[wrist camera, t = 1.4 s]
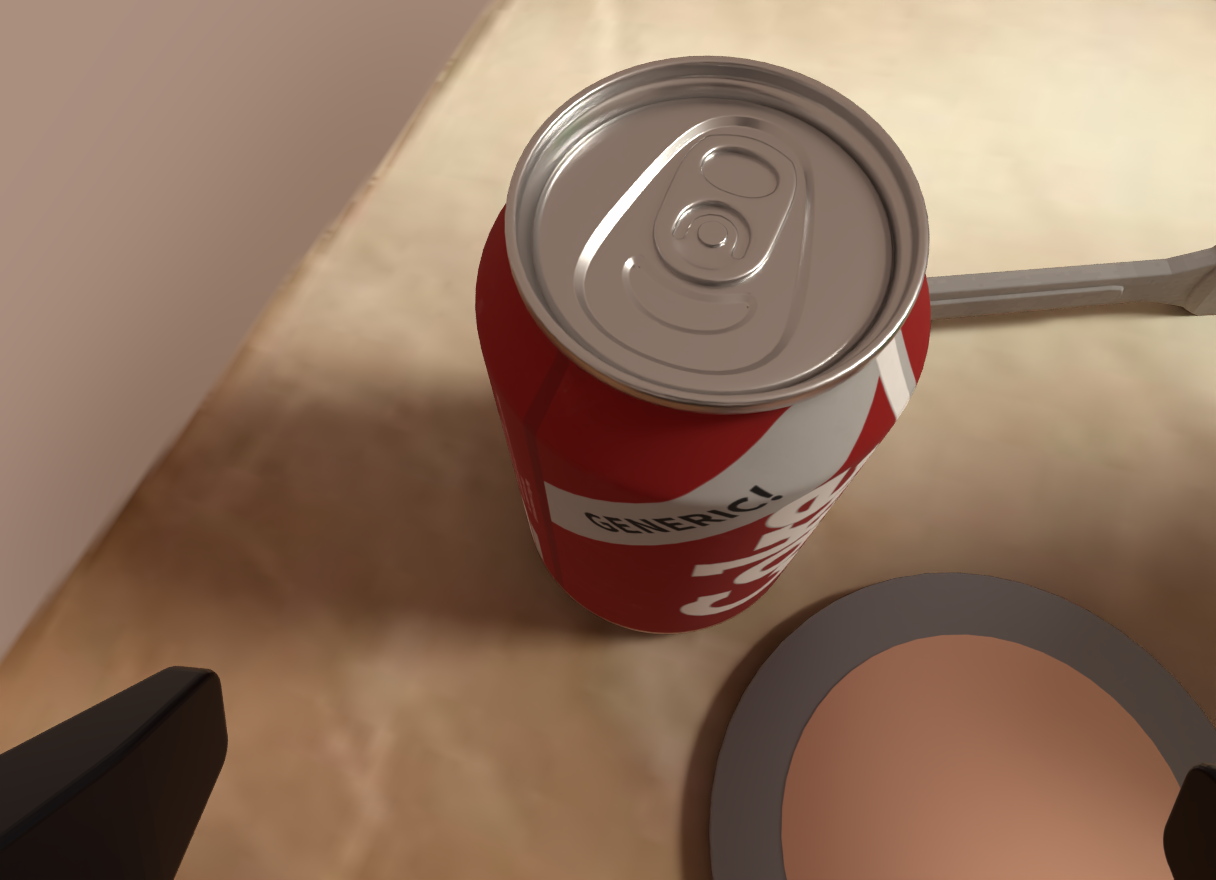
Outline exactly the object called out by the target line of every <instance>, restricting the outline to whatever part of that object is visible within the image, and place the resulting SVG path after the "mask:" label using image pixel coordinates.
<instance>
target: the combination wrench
mask: <svg viewBox="0 0 1216 880" xmlns="http://www.w3.org/2000/svg"><path fill="white" fill-rule="evenodd" d="M927 283H928V287H929V296H930V306H931V320H938V319H949V318H961V317H972V316H983V315H995V314H1006V313H1017V312H1028V311H1040V310H1051V309H1062V308H1073V307H1085V306H1096V305H1107V304H1118V303H1130V302H1141V301H1147V302H1156V303H1164V304H1170V305H1176V306H1182V307H1184V308H1185V309H1186V310H1188V311H1189V312H1190V313H1193V314H1195V315H1198V316H1204V315H1216V245H1215V246H1214V247H1212V248H1209V249H1205V250H1201V251H1197V252H1193V253H1189V254H1185V255H1180V256H1176V257H1172V258H1168V259H1158V260H1145V261H1133V262H1120V263H1107V264H1094V265H1082V266H1069V267H1056V268H1043V269H1030V270H1018V271H1005V272H992V273H979V274H966V275H954V276H941V277H928V278H927Z"/></svg>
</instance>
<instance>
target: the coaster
mask: <svg viewBox="0 0 1216 880" xmlns="http://www.w3.org/2000/svg"><path fill="white" fill-rule="evenodd" d="M1200 763H1212V764H1216V730H1215V728H1214V727H1213V725H1212V724H1211V722H1210V721H1209V719H1208V718H1207V717H1206V715H1205V714H1204V712H1203V711H1202V709H1201V708H1200V707H1199V706H1198V705H1197V704H1196V702H1195V701H1194V700H1193V699H1192V698H1191V696H1190V695H1189V694H1188V693H1187V692H1186V690H1185V689H1184V688H1183V687H1182V686H1181V685H1180V683H1179V682H1178V681H1177V680H1176V679H1175V678H1174V677H1173V676H1172V675H1171V674H1170V673H1169V672H1168V671H1167V670H1166V669H1165V668H1164V667H1163V666H1162V665H1161V664H1160V663H1158V662H1157V661H1156V660H1155V659H1154V658H1153V657H1152V656H1151V655H1150V654H1149V653H1148V652H1147V651H1145V650H1144V649H1143V648H1142V647H1140V646H1139V645H1138V644H1136V643H1135V642H1134V641H1133V640H1131V639H1130V638H1129V637H1128V636H1126V635H1125V634H1124V633H1122V632H1121V631H1120V630H1118V629H1117V628H1115V627H1114V626H1112V625H1110V624H1109V623H1107V622H1106V621H1104V620H1102V619H1101V618H1099V617H1098V616H1096V615H1094V614H1093V613H1091V612H1090V611H1088V610H1086V609H1084V608H1082V607H1080V606H1078V605H1076V604H1074V603H1072V602H1070V601H1067V600H1065V599H1063V598H1061V597H1059V596H1057V595H1055V594H1052V593H1049V592H1046V591H1043V590H1041V589H1038V588H1035V587H1032V586H1029V585H1026V584H1024V583H1019V582H1015V581H1010V580H1006V579H1002V578H997V577H993V576H986V575H976V574H966V573H925V574H919V575H913V576H907V577H900V578H894V579H891V580H887V581H884V582H881V583H878V584H874V585H871V586H868V587H864V588H862V589H860V590H858V591H856V592H853V593H851V594H849V595H847V596H845V597H843V598H841V599H838V600H836V601H835V602H833V603H831V604H830V605H828V606H827V607H825V608H824V609H822V610H821V611H819V612H818V613H816V614H815V615H813V616H811V617H810V618H809V619H807V620H806V621H805V622H804V623H803V624H802V625H801V626H799V627H798V628H797V629H796V630H795V631H794V632H793V633H792V634H790V635H789V636H788V637H787V638H786V639H785V640H784V641H783V642H781V643H780V645H779V646H778V647H777V648H776V649H775V650H774V652H773V653H772V654H771V655H770V656H769V657H768V659H767V660H766V661H765V662H764V663H763V664H762V666H761V667H760V668H759V669H758V671H757V673H756V674H755V676H754V677H753V679H752V680H751V682H750V683H749V685H748V687H747V688H746V690H745V691H744V693H743V694H742V696H741V698H740V701H739V703H738V705H737V707H736V709H735V711H734V713H733V716H732V718H731V720H730V722H729V724H728V727H727V730H726V733H725V736H724V739H723V743H722V746H721V749H720V752H719V755H718V759H717V763H716V769H715V775H714V780H713V786H712V792H711V801H710V820H709V844H710V859H711V873H712V879H713V880H1174V879H1173V876H1172V873H1171V871H1170V868H1169V866H1168V863H1167V860H1166V857H1165V853H1164V848H1163V834H1164V828H1165V825H1166V822H1167V820H1168V818H1169V815H1170V813H1171V810H1172V808H1173V805H1174V803H1175V801H1176V798H1177V796H1178V793H1179V791H1180V788H1181V786H1182V784H1183V781H1184V779H1185V776H1186V774H1187V773H1188V771H1189V770H1190V769H1191V768H1192V767H1193V766H1195V765H1196V764H1200Z"/></svg>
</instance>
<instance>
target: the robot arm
mask: <svg viewBox="0 0 1216 880" xmlns="http://www.w3.org/2000/svg"><path fill="white" fill-rule="evenodd" d="M227 747H228V735H227V727H226V719H225V711H224V704H223V696H222V688H221V683H220V679H219V677H218V675H217V674H216V673H215V672H214V671H212V670H210V669H204V668H194V667H183V666H172V667H168V668H166V669H164V670H162V671H160V672H158V673H156V674H154V675H152V676H150V677H148V678H147V679H145V680H143V681H141V682H139V683H137V684H135V685H133V686H131V687H129V688H127V689H125V690H123V691H122V692H120V693H118V694H116V695H114V696H112V697H110V698H108V699H106V700H104V701H102V702H100V703H98V704H97V705H95V706H93V707H91V708H89V709H87V710H85V711H83V712H81V713H79V714H77V715H75V716H74V717H72V718H70V719H68V720H66V721H64V722H62V723H60V724H58V725H56V726H54V727H52V728H50V729H49V730H47V731H45V732H43V733H41V734H39V735H37V736H35V737H33V738H31V739H29V740H27V741H26V742H24V743H22V744H20V745H18V746H16V747H14V748H12V749H10V750H8V751H6V752H4V753H2V754H1V755H0V880H174V878H175V875H176V873H177V871H178V868H179V866H180V864H181V862H182V859H183V857H184V855H185V852H186V850H187V848H188V845H189V843H190V841H191V838H192V836H193V834H194V831H195V829H196V827H197V825H198V822H199V820H200V818H201V815H202V813H203V811H204V808H205V806H206V804H207V801H208V799H209V797H210V794H211V792H212V790H213V788H214V785H215V783H216V781H217V778H218V776H219V774H220V771H221V769H222V767H223V764H224V761H225V757H226V753H227ZM1163 848H1164V853H1165V857H1166V860H1167V863H1168V866H1169V868H1170V871H1171V873H1172V876H1173V879H1174V880H1216V764H1212V763H1200V764H1196V765H1195V766H1193V767H1192V768H1191V769H1190V770H1189V771H1188V773H1187V774H1186V776H1185V779H1184V781H1183V784H1182V786H1181V788H1180V791H1179V793H1178V796H1177V798H1176V801H1175V803H1174V805H1173V808H1172V810H1171V813H1170V815H1169V818H1168V820H1167V822H1166V825H1165V828H1164V834H1163Z"/></svg>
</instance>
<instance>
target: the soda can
mask: <svg viewBox="0 0 1216 880" xmlns="http://www.w3.org/2000/svg"><path fill="white" fill-rule="evenodd" d="M928 255H929V224H928V215H927V211H926V206H925V202H924V198H923V195H922V192H921V189H920V186H919V183H918V181H917V179H916V177H915V175H914V173H913V170H912V168H911V166H910V165H909V163H908V161H907V160H906V158H905V156H904V155H903V153H902V151H901V150H900V149H899V147H898V146H897V145H896V143H895V142H894V141H893V139H892V138H891V137H890V136H889V135H888V134H887V132H886V131H885V130H884V129H883V128H882V127H881V126H880V125H879V124H878V123H877V122H876V121H875V120H874V119H873V118H872V117H871V116H870V115H868V114H867V113H866V112H865V111H864V110H863V109H861V108H860V107H859V106H857V105H856V104H855V103H853V102H852V101H851V100H849V99H848V98H846V97H845V96H843V95H842V94H840V93H839V92H837V91H835V90H834V89H832V88H830V87H828V86H826V85H824V84H822V83H821V82H819V81H817V80H814V79H812V78H810V77H807V76H805V75H803V74H801V73H798V72H795V71H792V70H789V69H786V68H784V67H780V66H776V65H773V64H769V63H765V62H760V61H755V60H750V59H743V58H735V57H725V56H688V57H678V58H670V59H664V60H659V61H653V62H649V63H645V64H641V65H638V66H634V67H631V68H628V69H625V70H623V71H620V72H617V73H615V74H612V75H610V76H608V77H606V78H603V79H601V80H599V81H598V82H596V83H594V84H592V85H590V86H588V87H587V88H585V89H583V90H582V91H580V92H579V93H577V94H576V95H575V96H573V97H572V98H570V99H569V100H568V101H566V102H565V103H564V104H563V105H562V106H560V107H559V108H558V109H557V110H556V111H555V112H554V113H553V114H552V115H551V116H550V117H549V118H548V119H547V120H546V121H545V122H544V123H543V124H542V125H541V127H540V128H539V129H538V130H537V132H536V133H535V134H534V135H533V137H532V138H531V140H530V141H529V143H528V145H527V146H526V148H525V149H524V151H523V153H522V155H521V157H520V159H519V161H518V163H517V165H516V168H515V171H514V173H513V176H512V179H511V183H510V187H509V191H508V195H507V202H506V204H505V206H504V207H503V209H502V210H501V212H500V213H499V215H498V217H497V219H496V221H495V223H494V225H493V227H492V229H491V231H490V233H489V236H488V238H487V241H486V244H485V246H484V249H483V253H482V257H481V261H480V265H479V269H478V276H477V283H476V301H475V310H476V321H477V330H478V335H479V340H480V344H481V349H482V353H483V357H484V361H485V364H486V368H487V372H488V375H489V379H490V383H491V386H492V390H493V394H494V397H495V401H496V405H497V408H498V412H499V416H500V419H501V423H502V427H503V430H504V434H505V438H506V441H507V445H508V449H509V452H510V456H511V460H512V463H513V467H514V471H515V474H516V478H517V482H518V485H519V489H520V493H521V497H522V500H523V504H524V508H525V511H526V515H527V519H528V522H529V526H530V530H531V533H532V536H533V539H534V543H535V546H536V548H537V550H538V553H539V555H540V557H541V559H542V561H543V563H544V564H545V566H546V568H547V570H548V571H549V573H550V574H551V575H552V577H553V578H554V580H555V581H556V582H557V583H558V584H559V586H560V587H561V588H562V589H563V590H564V591H565V592H566V593H567V594H568V595H569V596H570V597H571V598H572V599H573V600H574V601H576V602H577V603H578V604H580V605H581V606H582V607H584V608H585V609H586V610H588V611H590V612H591V613H593V614H594V615H596V616H598V617H600V618H602V619H604V620H606V621H608V622H610V623H613V624H615V625H618V626H621V627H624V628H627V629H631V630H635V631H640V632H646V633H654V634H681V633H688V632H694V631H698V630H702V629H706V628H710V627H712V626H715V625H718V624H721V623H723V622H725V621H727V620H729V619H731V618H733V617H735V616H737V615H738V614H740V613H741V612H743V611H745V610H746V609H747V608H749V607H750V606H751V605H753V604H754V603H755V602H756V601H757V600H758V599H759V598H761V597H762V596H763V595H764V594H765V593H766V592H767V590H768V589H769V588H770V587H771V586H772V585H773V583H774V582H775V581H776V580H777V578H778V577H779V576H780V574H781V573H782V572H783V570H784V569H785V568H786V566H787V565H788V564H789V562H790V561H791V560H792V559H793V557H794V556H795V555H796V553H797V552H798V551H799V549H800V548H801V547H802V545H803V544H804V543H805V541H806V540H807V539H808V537H809V536H810V535H811V533H812V532H813V531H814V529H815V528H816V527H817V526H818V524H819V523H820V522H821V520H822V519H823V518H824V516H825V515H826V514H827V512H828V511H829V510H830V508H831V507H832V506H833V504H834V503H835V502H836V500H837V499H838V498H839V496H840V495H841V494H842V492H843V491H844V490H845V489H846V487H847V486H848V485H849V483H850V482H851V481H852V479H853V478H854V477H855V475H856V474H857V473H858V471H859V470H860V469H861V467H862V466H863V465H864V463H865V462H866V461H867V459H868V458H869V457H870V456H871V454H872V453H873V452H874V450H875V449H876V448H877V446H878V445H879V444H880V442H881V441H882V440H883V438H884V437H885V436H886V434H887V433H888V432H889V430H890V429H891V428H892V426H893V425H894V424H895V422H896V421H897V419H898V418H899V416H900V415H901V413H902V412H903V410H904V409H905V407H906V405H907V403H908V402H909V400H910V398H911V396H912V394H913V392H914V390H915V388H916V385H917V383H918V380H919V378H920V375H921V372H922V370H923V366H924V362H925V358H926V354H927V350H928V344H929V336H930V329H931V306H930V296H929V287H928V283H927V278H926V274H925V272H926V268H927V262H928Z"/></svg>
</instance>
